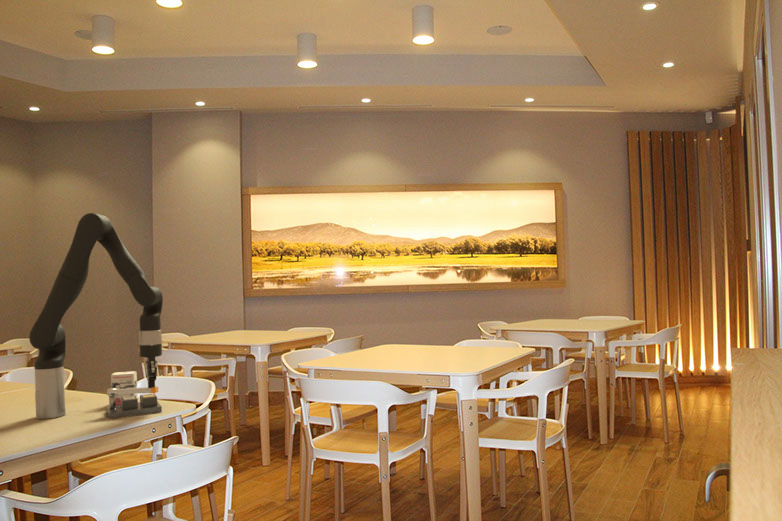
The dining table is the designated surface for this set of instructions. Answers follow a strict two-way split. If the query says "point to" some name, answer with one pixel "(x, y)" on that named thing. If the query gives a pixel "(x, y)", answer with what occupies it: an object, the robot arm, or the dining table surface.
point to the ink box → (123, 383)
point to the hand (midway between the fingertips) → (151, 391)
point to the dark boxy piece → (133, 406)
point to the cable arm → (131, 390)
